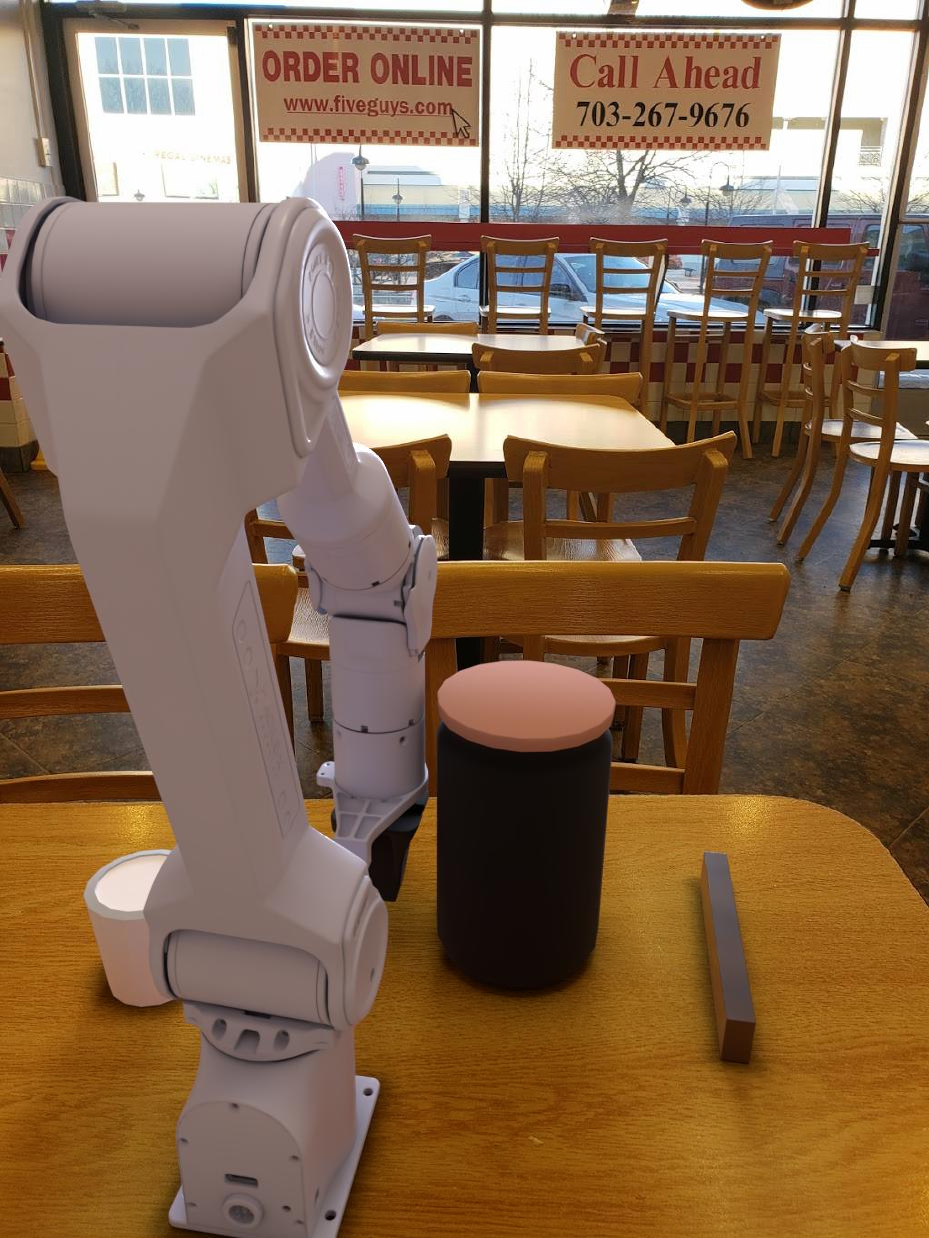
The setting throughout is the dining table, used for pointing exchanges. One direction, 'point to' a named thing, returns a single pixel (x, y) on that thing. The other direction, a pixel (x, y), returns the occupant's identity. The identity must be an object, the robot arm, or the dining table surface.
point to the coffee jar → (521, 819)
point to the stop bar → (726, 961)
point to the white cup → (125, 924)
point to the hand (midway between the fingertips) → (382, 894)
